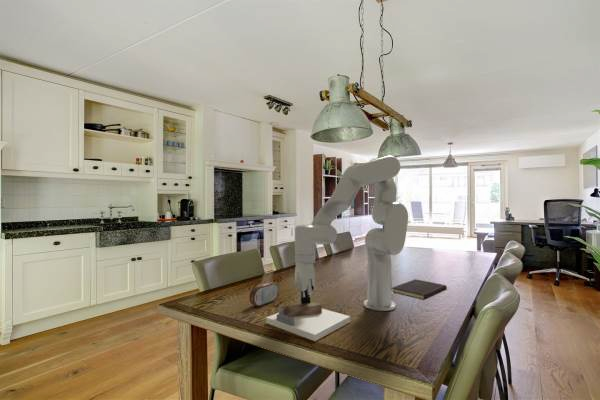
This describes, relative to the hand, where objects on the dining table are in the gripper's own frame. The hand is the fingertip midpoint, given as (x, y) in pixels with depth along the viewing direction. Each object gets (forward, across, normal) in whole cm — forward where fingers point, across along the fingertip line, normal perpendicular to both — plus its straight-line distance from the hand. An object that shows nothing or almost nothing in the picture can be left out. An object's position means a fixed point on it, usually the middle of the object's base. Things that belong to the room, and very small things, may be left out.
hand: (305, 307), depth 117 cm
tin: (+4, -19, -11) cm, 22 cm away
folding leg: (+1, +3, -3) cm, 5 cm away
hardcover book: (+4, -13, +62) cm, 64 cm away
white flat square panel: (+3, +6, -1) cm, 7 cm away
